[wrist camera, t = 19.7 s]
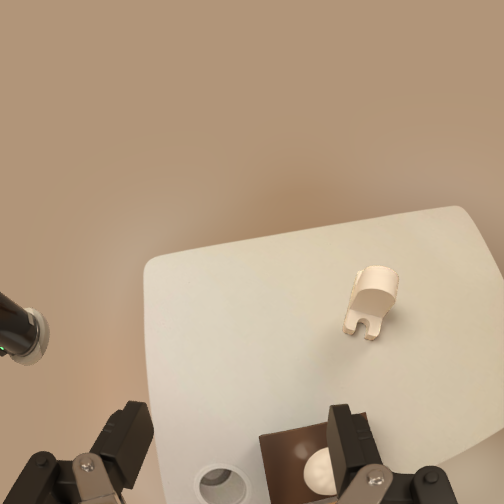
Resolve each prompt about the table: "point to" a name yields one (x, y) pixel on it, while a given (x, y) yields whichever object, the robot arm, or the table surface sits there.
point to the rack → (292, 462)
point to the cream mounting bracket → (371, 299)
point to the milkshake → (319, 472)
